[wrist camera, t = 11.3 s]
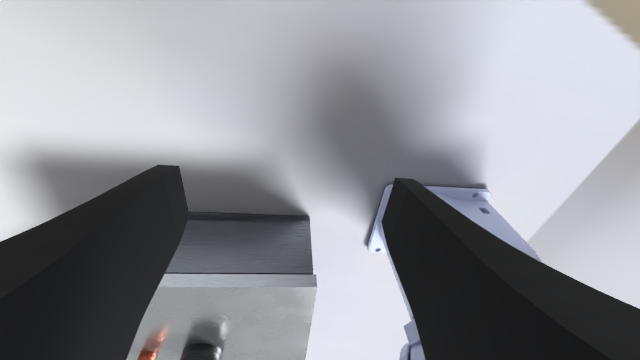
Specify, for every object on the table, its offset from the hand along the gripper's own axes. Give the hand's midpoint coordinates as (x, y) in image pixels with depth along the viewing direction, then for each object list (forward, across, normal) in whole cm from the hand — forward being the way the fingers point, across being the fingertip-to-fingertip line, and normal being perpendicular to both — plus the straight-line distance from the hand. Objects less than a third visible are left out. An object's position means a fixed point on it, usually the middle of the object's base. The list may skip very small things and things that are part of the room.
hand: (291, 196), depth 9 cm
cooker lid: (+4, +6, +18) cm, 20 cm away
